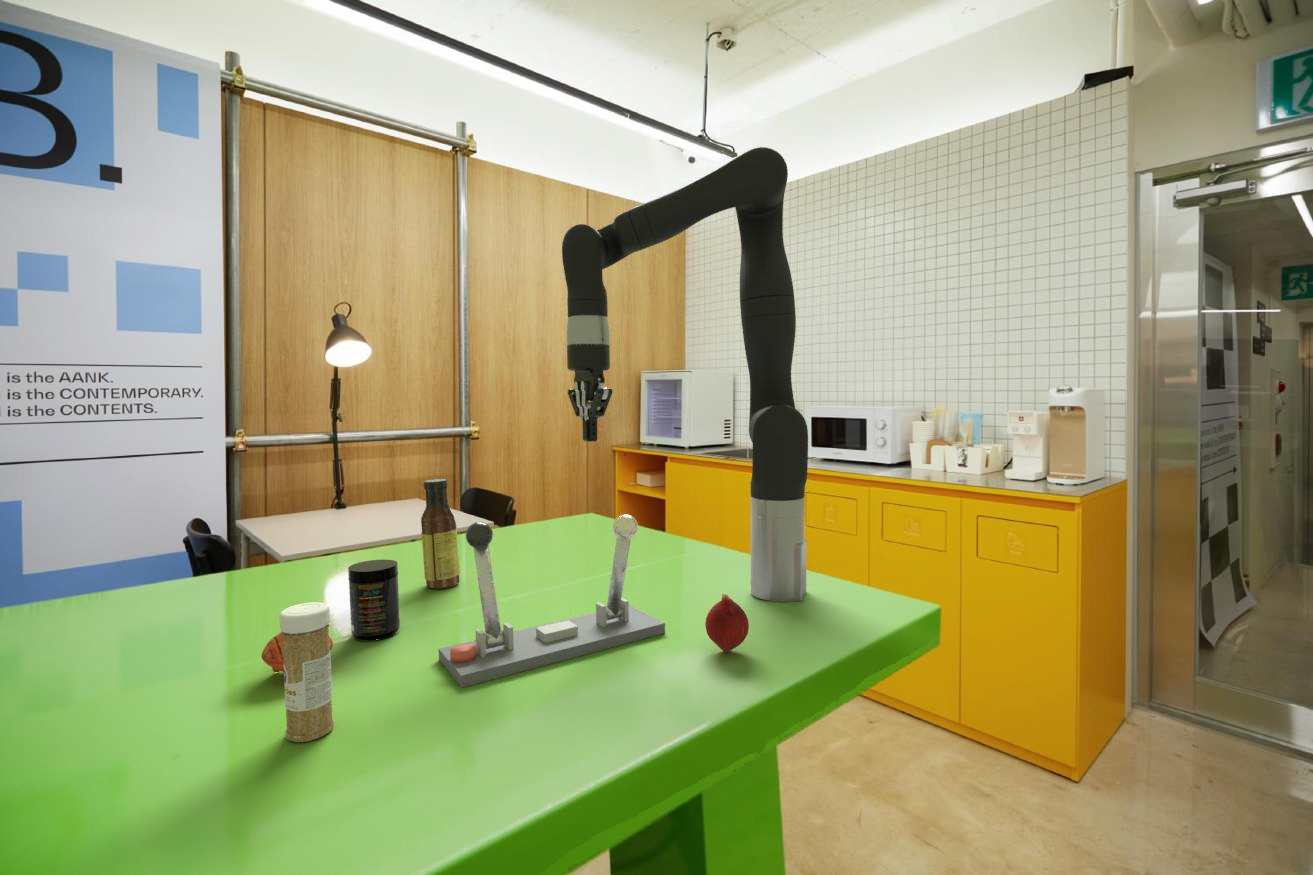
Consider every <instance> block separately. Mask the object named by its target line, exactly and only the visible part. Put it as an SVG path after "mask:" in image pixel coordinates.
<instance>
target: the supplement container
mask: <svg viewBox="0 0 1313 875" xmlns="http://www.w3.org/2000/svg"><path fill="white" fill-rule="evenodd" d="M398 564H399V563H398V561H397V560H392V559H371V560H365V561H360V562H357V563H353V564H351V565H349V566H348V567H347V572H348V573H347V574H348V577H347V579H348V588H349V590H348V591H349V592H348V593H349V609H350V611H349V612H350V630H351V636H352V638H354V639H355V640H356V639H358V640H357V641H360V640H376V639H381V640H384V639H383V638H385V639H387V638H386V637H388V638H390V637H392V636H394V635H395V633H396V632H397V633H398V631H399V630H400V627H401V623H400V598H399V568H398V567H399V566H398ZM393 634H394V635H393ZM389 636H390V637H389ZM376 641H377V640H376Z"/></svg>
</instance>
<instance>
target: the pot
mask: <svg viewBox="0 0 1313 875" xmlns="http://www.w3.org/2000/svg"><path fill="white" fill-rule="evenodd" d="M281 632H282V631H281V630H280V632H279V633H278V634H276V635H274V636H273V637H272V638H271V639H269V641H268V642H267V644H266V645H265V646H264V648H263V650H262V651H261V659H262V661H263V662H264V664H266V665H267V666H269V667H271V670H272V672H273V673H274V672H279V673H280V672H282V673H284V652H283V635H282V633H281ZM333 643H334V642H333V640H332V638H331V636H329V648H330V652H331V651H332V649H333V645H334V644H333Z"/></svg>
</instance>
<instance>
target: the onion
mask: <svg viewBox="0 0 1313 875" xmlns="http://www.w3.org/2000/svg"><path fill="white" fill-rule="evenodd" d="M749 624H750V623H749V619H748V615H747V613H746V612H745V611H744V609H743V608H742V607H741V606H740V605H739V603H737V602H735V601H734V600H733V599H732V598H730V597H729V595H728V594H727V593H722V595H721V600H719V601H718V602H717V603H715V604H714V605H713V606H712V607H711V609H710V610H709V611H708V613H707V615H706V618H705V624H704V625H705V631H706V635H707V636H708V638H709V639H710V640H711V641H712V642H713V643H714V644H715V645H716V646H717V647H718V648H719V649H720V650H721V651H723V652H725V653H728V652H731V651H732V650H733V649H735V648H737V647H738V646H740V645H741V644H742V643H744V641H745V640H746V637H747V636H748V634H749V628H750V625H749Z"/></svg>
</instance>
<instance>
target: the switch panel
mask: <svg viewBox="0 0 1313 875" xmlns="http://www.w3.org/2000/svg"><path fill="white" fill-rule="evenodd" d="M606 606H607V605H605V604H603V603H601V602H596V603H595V612H592V613H588V614H584V615H580V616H575V617H571V618H565V619H562V620H557V621H554V622H550V623H545V624H541V625H536V626H532V627H527V628H523V629H519V630H514V626H512V624H511V623H509V622H504V623H503V625H502V627H503V629H502V630H503V631H504V633H505V637H506V643H505V645H502V646H498V647H494V648H490V649H486V647H485V631H484V630H482V629H481V628H477V629H475V639H474V640H471V641H470V640H469V641H466V642H462V643H458V644H453V645H448V646H444V647H440V648H438V660H439V661H440V662H441V664H442V665H443V666H444V668H445V669H446V670H447V671H448V673H449V674H450V675H451V676H452V677H453V679H454V680H455V682H456V683H457V684H458V685H459V686H460V687H461V688H465V687H469V686H473V685H478V684H480V683H484V682H487V681H491V680H492V681H493V680H495V679H499V678H502V677H503V678H504V677H506V676H507V677H508V676H510V675H514V674H517V673H521V672H526V671H528V670H533V669H538V668H540V667H545V666H547V665H551V664H554V663H560V662H562V661H567V660H571V659H573V658H578V657H580V656H585V655H588V654H593V653H596V652H599V651H600V652H601V651H604V650H607V649H611V648H614V647H619V646H622V645H625V644H629V643H633V642H636V641H641V640H644V639H647V638H648V639H649V638H652V637H655V636H659V635H663V634H665V633H666V623H665V622H664V621H662V620H660V619H657V618H656V617H654V616H652V615H650V614H648V613H646V612H644V611H642V610H640V609H638V608H636V607H634V606H632V605H630V604H629V600H628V599H625V598H624V597H622V599H621V606H622V608H623V616H622V617H619V618H615V619H611V620H606Z"/></svg>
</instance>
